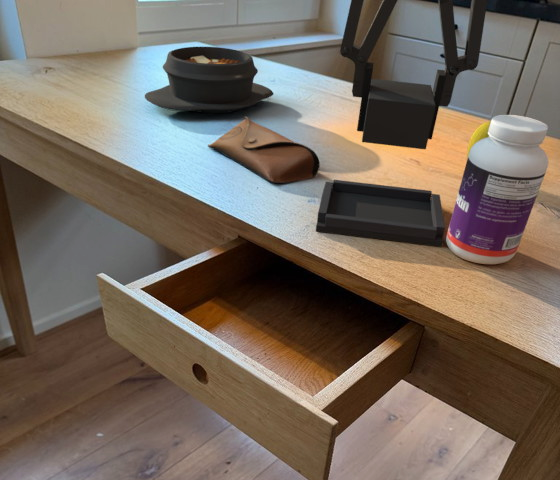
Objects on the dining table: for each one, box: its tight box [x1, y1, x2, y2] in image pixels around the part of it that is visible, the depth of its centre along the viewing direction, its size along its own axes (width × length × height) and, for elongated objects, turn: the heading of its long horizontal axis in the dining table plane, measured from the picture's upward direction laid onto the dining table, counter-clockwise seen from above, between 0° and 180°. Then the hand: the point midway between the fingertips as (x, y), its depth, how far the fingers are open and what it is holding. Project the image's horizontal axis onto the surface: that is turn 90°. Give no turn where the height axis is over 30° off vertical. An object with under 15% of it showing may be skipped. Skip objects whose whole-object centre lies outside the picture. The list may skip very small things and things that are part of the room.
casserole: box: [144, 46, 274, 114], centre depth 102 cm, size 25×19×8 cm
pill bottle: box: [445, 114, 549, 265], centre depth 61 cm, size 8×8×14 cm
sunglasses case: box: [207, 116, 320, 184], centre depth 84 cm, size 18×7×7 cm
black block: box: [361, 78, 436, 150], centre depth 63 cm, size 7×9×4 cm
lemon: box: [466, 120, 491, 159], centre depth 83 cm, size 6×6×8 cm
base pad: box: [315, 179, 446, 247], centre depth 71 cm, size 15×12×2 cm
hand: (394, 131), depth 65 cm, fingers closed on black block, 7 cm apart
